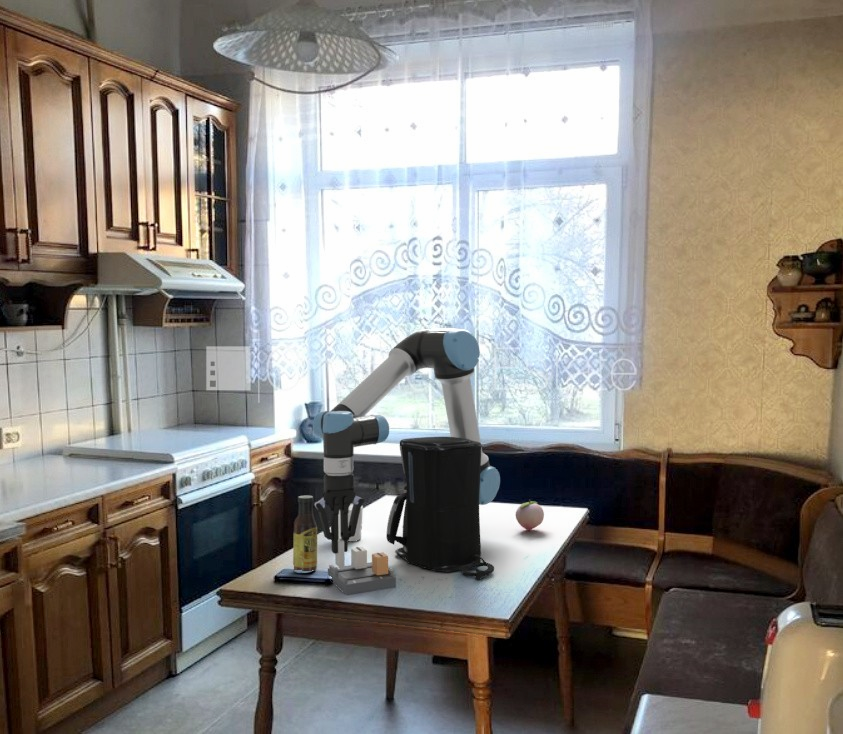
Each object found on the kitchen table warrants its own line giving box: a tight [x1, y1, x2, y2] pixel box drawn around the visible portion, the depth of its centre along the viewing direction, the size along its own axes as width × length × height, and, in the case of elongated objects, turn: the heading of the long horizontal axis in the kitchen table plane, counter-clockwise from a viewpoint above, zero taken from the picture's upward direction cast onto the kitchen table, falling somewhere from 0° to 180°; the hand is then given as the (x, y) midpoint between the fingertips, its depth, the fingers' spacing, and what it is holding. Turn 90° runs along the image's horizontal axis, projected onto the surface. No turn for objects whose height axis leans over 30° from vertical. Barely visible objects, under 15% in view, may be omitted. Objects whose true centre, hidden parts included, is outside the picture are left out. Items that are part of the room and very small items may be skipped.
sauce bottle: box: [292, 494, 318, 571], centre depth 210 cm, size 7×6×20 cm
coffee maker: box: [385, 436, 495, 581], centre depth 218 cm, size 23×32×34 cm
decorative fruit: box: [515, 498, 545, 532], centre depth 249 cm, size 9×8×10 cm
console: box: [327, 561, 397, 596], centre depth 201 cm, size 14×13×4 cm
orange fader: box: [371, 552, 389, 575], centre depth 199 cm, size 4×3×5 cm
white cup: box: [338, 503, 364, 542], centre depth 241 cm, size 8×8×10 cm
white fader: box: [350, 546, 368, 569], centre depth 204 cm, size 4×3×5 cm
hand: (340, 565), depth 202 cm, fingers closed
